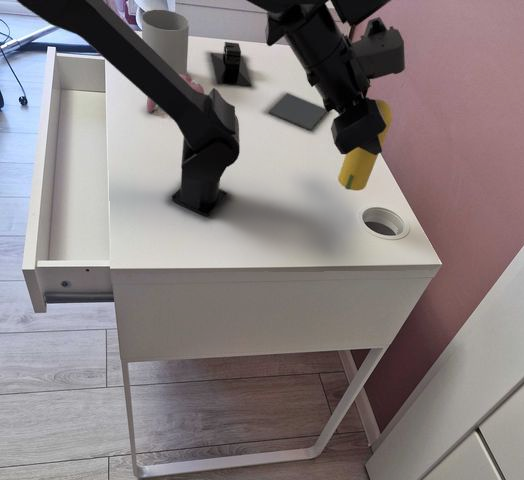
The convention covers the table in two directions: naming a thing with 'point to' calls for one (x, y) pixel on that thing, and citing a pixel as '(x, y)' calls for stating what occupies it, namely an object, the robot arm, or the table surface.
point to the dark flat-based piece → (230, 66)
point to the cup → (167, 37)
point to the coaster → (298, 111)
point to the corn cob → (362, 158)
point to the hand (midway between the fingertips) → (375, 143)
